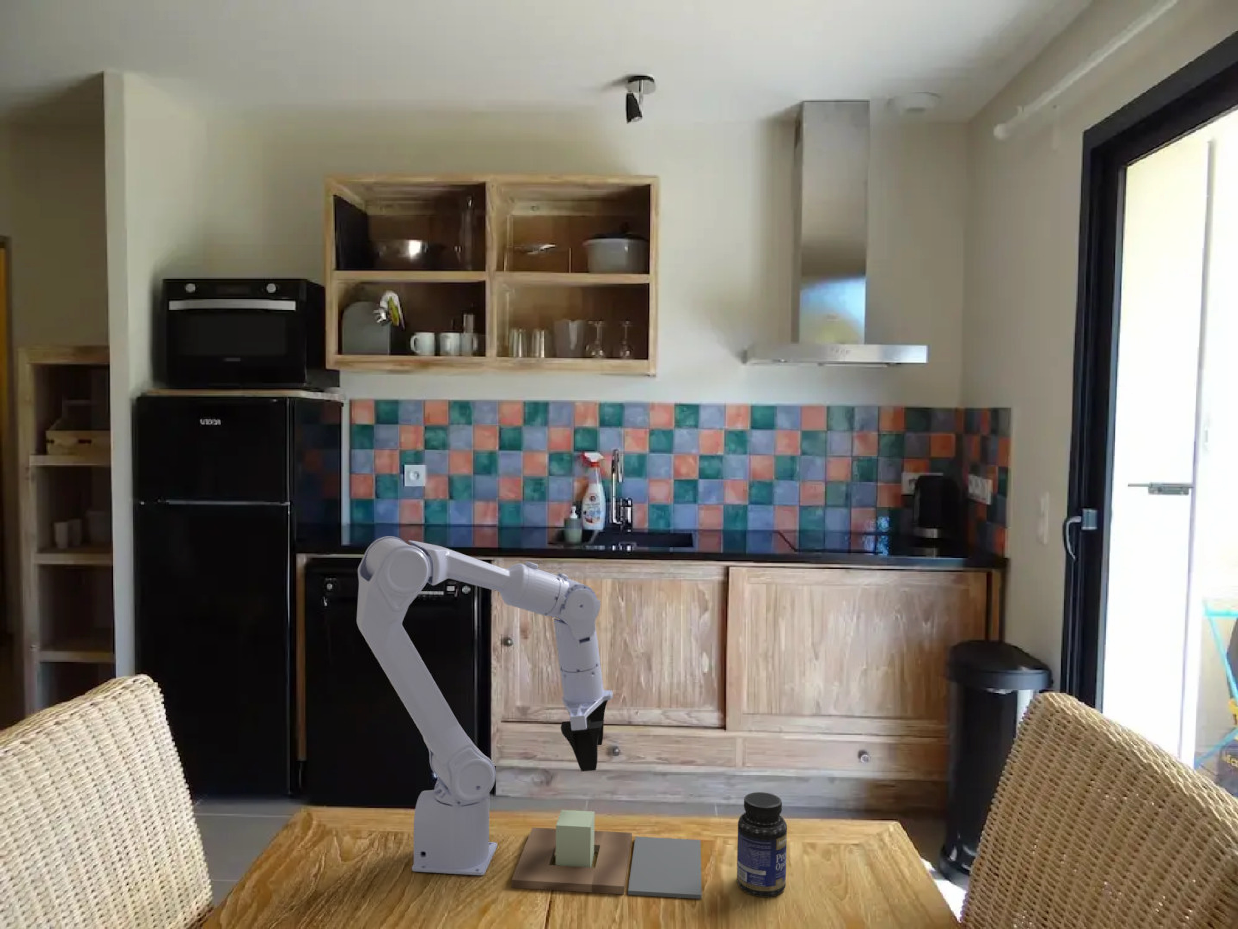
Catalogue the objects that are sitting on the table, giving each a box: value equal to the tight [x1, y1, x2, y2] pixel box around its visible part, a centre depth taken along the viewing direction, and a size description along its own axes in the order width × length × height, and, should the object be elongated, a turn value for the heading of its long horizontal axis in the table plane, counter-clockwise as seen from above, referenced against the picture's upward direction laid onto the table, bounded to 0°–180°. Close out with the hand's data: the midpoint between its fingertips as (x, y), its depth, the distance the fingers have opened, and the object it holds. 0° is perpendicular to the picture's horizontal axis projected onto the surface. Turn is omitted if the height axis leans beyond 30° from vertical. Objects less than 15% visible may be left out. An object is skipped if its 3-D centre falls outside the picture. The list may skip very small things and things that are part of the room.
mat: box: [627, 836, 703, 900], centre depth 113 cm, size 9×14×1 cm, turn 175°
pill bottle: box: [736, 791, 788, 898], centre depth 109 cm, size 6×6×11 cm
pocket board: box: [511, 827, 633, 895], centre depth 114 cm, size 14×14×1 cm
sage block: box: [555, 809, 596, 868], centre depth 114 cm, size 4×4×6 cm
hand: (592, 756), depth 123 cm, fingers open, 7 cm apart
